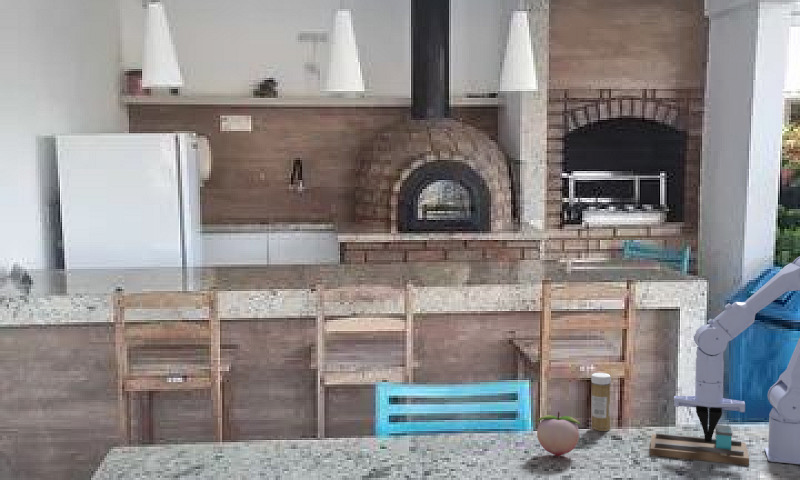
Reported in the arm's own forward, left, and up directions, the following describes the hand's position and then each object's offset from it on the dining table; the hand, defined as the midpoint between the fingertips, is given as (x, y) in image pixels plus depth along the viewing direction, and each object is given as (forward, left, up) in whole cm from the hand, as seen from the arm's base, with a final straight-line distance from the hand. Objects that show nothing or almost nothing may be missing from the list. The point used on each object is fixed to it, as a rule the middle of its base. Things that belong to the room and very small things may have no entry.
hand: (708, 440), depth 175 cm
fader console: (+2, 0, -3) cm, 4 cm away
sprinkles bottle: (+24, -10, -3) cm, 26 cm away
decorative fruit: (+31, +12, -3) cm, 33 cm away
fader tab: (-3, 0, -1) cm, 3 cm away
